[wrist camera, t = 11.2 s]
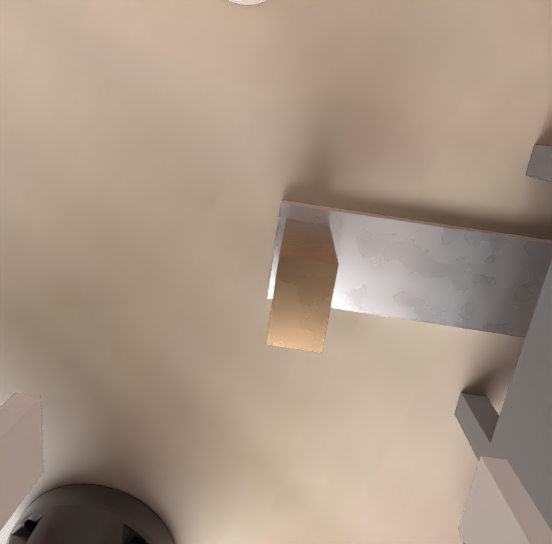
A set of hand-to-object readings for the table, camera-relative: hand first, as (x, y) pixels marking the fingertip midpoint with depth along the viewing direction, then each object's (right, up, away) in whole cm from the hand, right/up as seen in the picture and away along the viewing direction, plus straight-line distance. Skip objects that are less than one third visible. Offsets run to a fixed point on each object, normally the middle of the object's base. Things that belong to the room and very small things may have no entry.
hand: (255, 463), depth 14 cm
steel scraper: (+10, +6, +20) cm, 23 cm away
